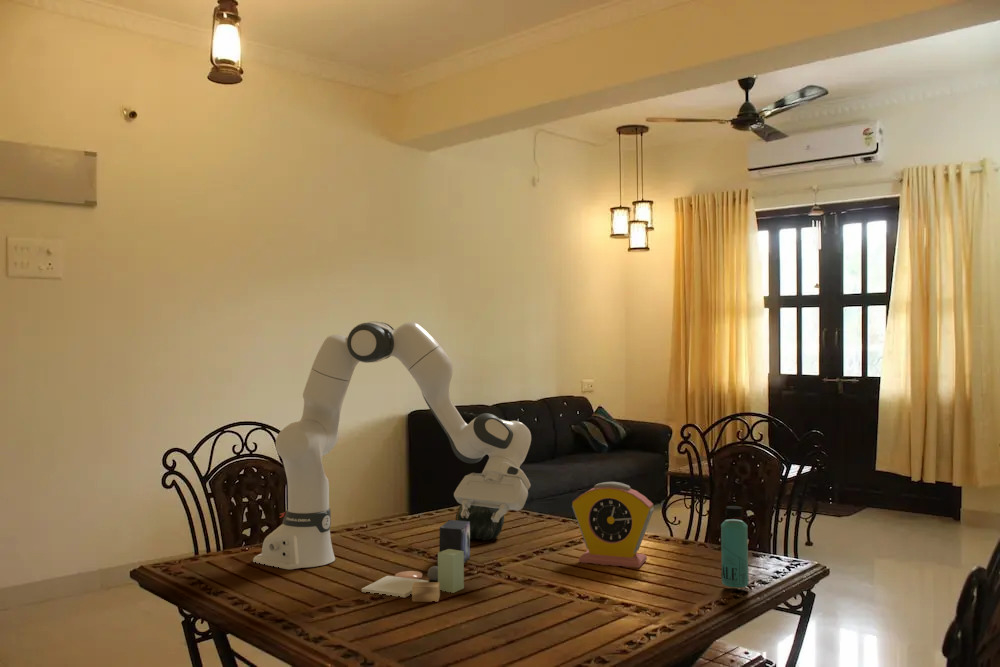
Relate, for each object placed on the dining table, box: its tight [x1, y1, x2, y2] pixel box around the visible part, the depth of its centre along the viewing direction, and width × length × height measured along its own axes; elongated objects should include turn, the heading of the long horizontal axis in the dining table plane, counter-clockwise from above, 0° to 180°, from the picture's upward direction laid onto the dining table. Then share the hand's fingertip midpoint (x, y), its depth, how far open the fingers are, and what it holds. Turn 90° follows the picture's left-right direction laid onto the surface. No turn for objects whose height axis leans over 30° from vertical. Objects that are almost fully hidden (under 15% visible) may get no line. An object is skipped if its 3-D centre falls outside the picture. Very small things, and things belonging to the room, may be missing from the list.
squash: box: [454, 504, 505, 542], centre depth 251 cm, size 14×15×15 cm
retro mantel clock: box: [571, 481, 655, 569], centre depth 223 cm, size 22×9×22 cm, turn 68°
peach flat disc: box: [394, 570, 423, 579], centre depth 210 cm, size 7×7×1 cm
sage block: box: [437, 549, 465, 594], centre depth 199 cm, size 4×4×9 cm
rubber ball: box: [427, 565, 438, 582], centre depth 206 cm, size 4×4×4 cm
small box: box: [438, 519, 471, 564], centre depth 224 cm, size 11×6×10 cm, turn 168°
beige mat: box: [361, 575, 430, 598], centre depth 200 cm, size 12×12×1 cm
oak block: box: [411, 581, 441, 603], centre depth 191 cm, size 6×4×4 cm, turn 87°
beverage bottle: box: [720, 505, 750, 588], centre depth 197 cm, size 6×7×20 cm
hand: (478, 518), depth 209 cm, fingers open, 8 cm apart
